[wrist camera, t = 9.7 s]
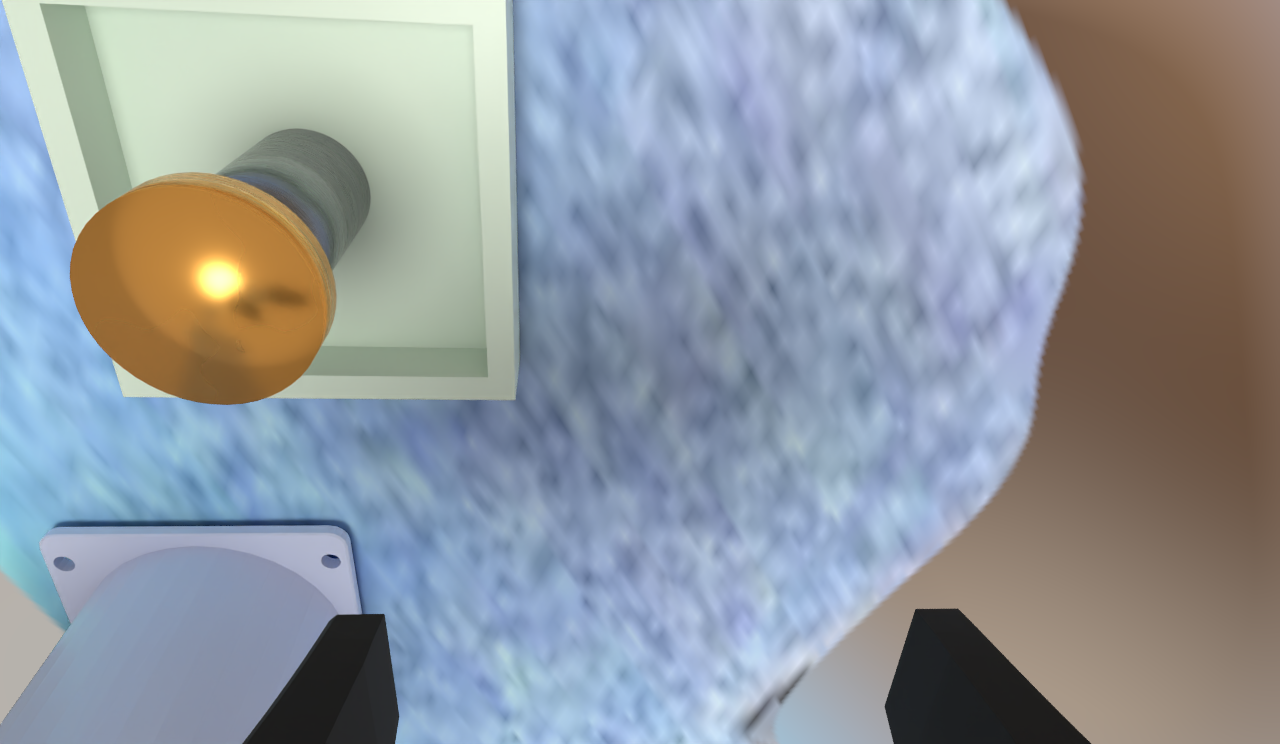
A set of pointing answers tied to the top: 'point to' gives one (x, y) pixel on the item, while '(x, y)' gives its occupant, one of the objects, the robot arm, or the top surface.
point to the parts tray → (337, 107)
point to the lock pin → (223, 269)
